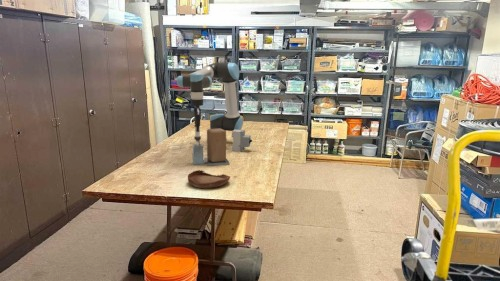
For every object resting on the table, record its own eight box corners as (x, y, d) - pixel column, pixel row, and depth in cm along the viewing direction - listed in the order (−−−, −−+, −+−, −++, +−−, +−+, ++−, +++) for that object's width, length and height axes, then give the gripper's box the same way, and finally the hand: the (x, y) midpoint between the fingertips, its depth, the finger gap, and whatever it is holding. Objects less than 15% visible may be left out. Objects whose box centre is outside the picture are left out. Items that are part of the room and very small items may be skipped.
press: (192, 160, 223) (191, 143, 220) (224, 158, 229) (224, 141, 226) (194, 166, 210) (194, 148, 207) (229, 164, 215) (229, 146, 213)
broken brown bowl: (231, 178, 191) (231, 169, 190) (228, 191, 172) (228, 181, 170) (192, 176, 192) (191, 168, 191) (184, 189, 172) (183, 180, 171)
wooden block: (212, 162, 213) (211, 131, 209) (206, 158, 222) (206, 128, 218) (226, 161, 218) (226, 130, 213) (220, 157, 226) (220, 127, 222)
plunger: (194, 150, 216) (194, 136, 214) (200, 150, 218) (200, 136, 215) (195, 152, 213) (194, 137, 211) (201, 152, 214) (201, 137, 212)
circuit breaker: (250, 152, 246) (250, 132, 243) (231, 151, 249) (231, 131, 246) (252, 150, 253) (252, 130, 250) (234, 148, 256) (234, 129, 253)
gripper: (189, 97, 213) (190, 134, 218) (192, 100, 201) (192, 138, 206) (201, 97, 215) (202, 134, 220) (204, 99, 203) (205, 138, 208)
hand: (197, 136), depth 213 cm, fingers closed
